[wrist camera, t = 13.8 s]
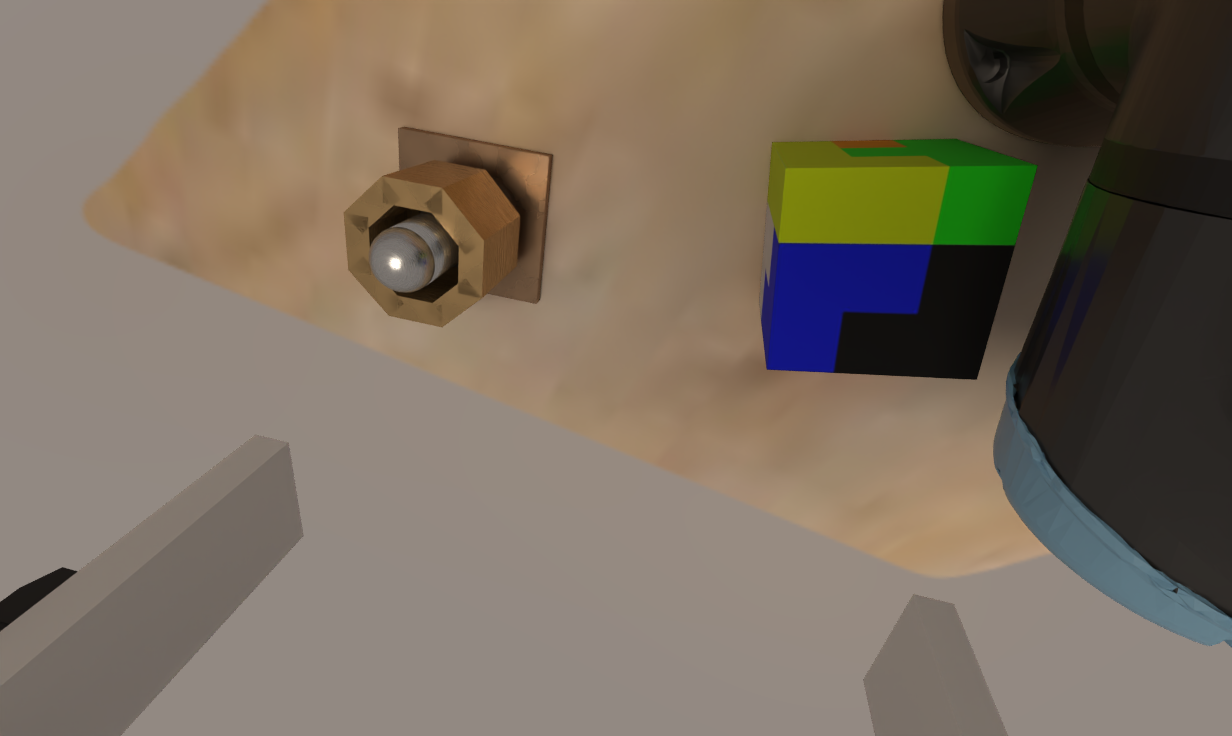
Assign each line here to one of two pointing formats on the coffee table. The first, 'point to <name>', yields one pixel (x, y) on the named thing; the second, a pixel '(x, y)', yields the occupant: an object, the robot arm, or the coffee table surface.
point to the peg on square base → (426, 247)
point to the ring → (464, 212)
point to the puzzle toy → (887, 254)
